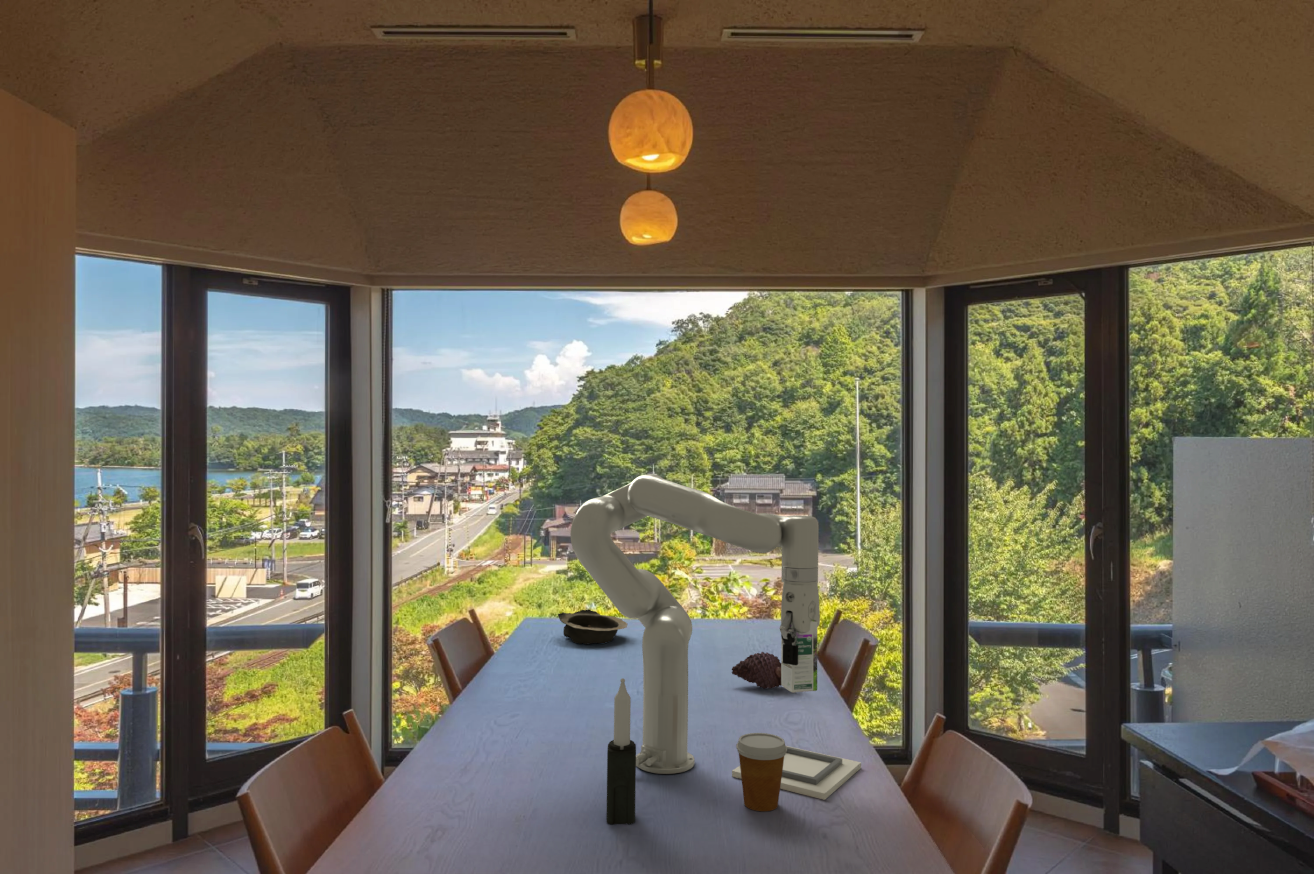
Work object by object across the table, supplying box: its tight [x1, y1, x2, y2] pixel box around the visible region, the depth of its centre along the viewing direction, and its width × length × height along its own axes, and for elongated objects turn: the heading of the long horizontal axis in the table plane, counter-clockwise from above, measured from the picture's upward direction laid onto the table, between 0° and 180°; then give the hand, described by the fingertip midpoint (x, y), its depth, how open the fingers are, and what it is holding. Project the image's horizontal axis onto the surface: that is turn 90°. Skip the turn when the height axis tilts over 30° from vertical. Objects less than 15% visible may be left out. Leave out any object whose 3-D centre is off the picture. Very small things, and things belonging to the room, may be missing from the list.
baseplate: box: [731, 745, 862, 801], centre depth 174 cm, size 20×20×2 cm
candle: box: [605, 678, 637, 825], centre depth 152 cm, size 5×5×25 cm
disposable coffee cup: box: [735, 732, 787, 812], centre depth 158 cm, size 10×10×12 cm
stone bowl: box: [557, 609, 628, 645], centre depth 296 cm, size 25×25×9 cm
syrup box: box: [780, 620, 818, 694], centre depth 175 cm, size 6×6×14 cm
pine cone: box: [731, 651, 782, 690], centre depth 238 cm, size 18×10×10 cm, turn 83°
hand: (798, 659), depth 175 cm, fingers closed on syrup box, 7 cm apart
